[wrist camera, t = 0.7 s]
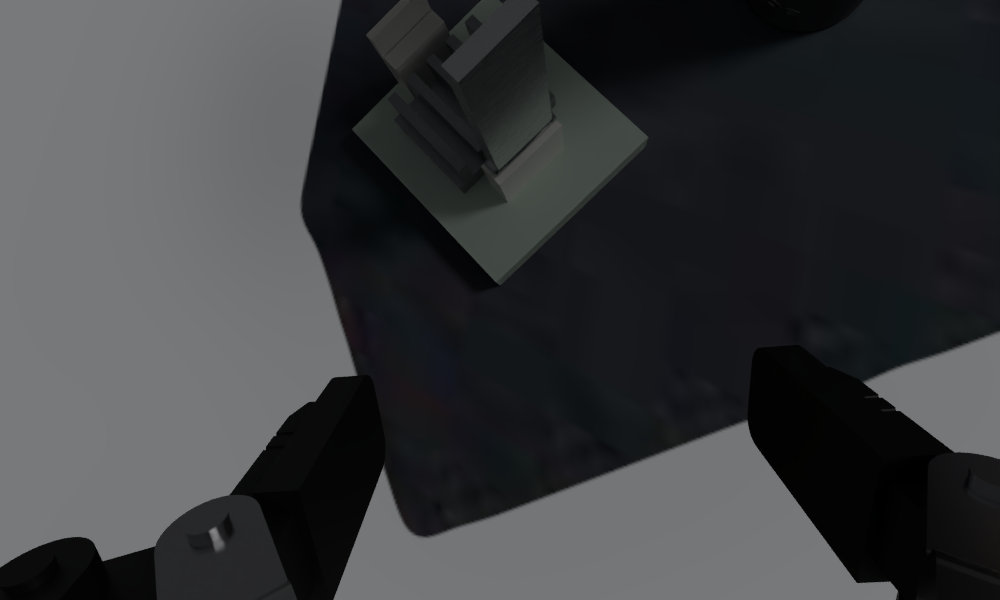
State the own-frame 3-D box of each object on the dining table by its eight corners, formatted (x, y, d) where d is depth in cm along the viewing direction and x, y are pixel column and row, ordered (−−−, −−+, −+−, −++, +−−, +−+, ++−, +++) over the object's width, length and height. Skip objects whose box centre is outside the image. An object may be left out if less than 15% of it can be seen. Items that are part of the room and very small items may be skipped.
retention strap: (543, 110, 35) (524, -20, 22) (556, 123, 35) (545, -1, 22) (485, 166, 35) (434, 68, 23) (498, 180, 35) (454, 88, 22)
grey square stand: (493, 7, 43) (473, -74, 35) (644, 147, 40) (662, 95, 32) (362, 139, 44) (310, 90, 35) (500, 285, 41) (480, 270, 32)
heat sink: (487, 40, 41) (478, 8, 37) (555, 105, 39) (553, 78, 35) (400, 127, 41) (381, 104, 37) (464, 194, 40) (451, 177, 36)
